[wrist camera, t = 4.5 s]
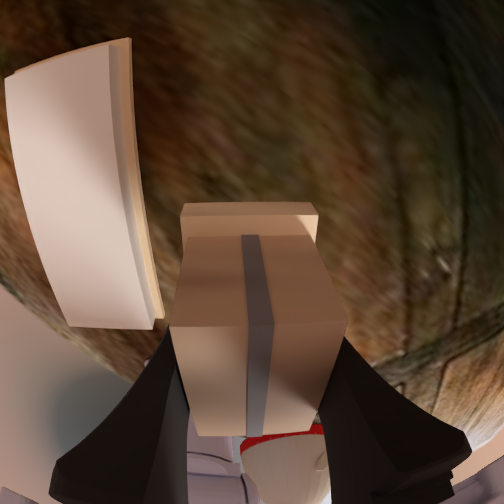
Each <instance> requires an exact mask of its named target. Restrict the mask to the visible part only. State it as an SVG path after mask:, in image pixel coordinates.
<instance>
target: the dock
mask: <svg viewBox="0 0 504 504" xmlns="http://www.w3.org/2000/svg"><path fill="white" fill-rule="evenodd" d="M5 94H6V107H7V117H8V125H9V133H10V140H11V146H12V152H13V158H14V163H15V168H16V173H17V178H18V183H19V187H20V191H21V195H22V199H23V203H24V207H25V211H26V214H27V218H28V221H29V225H30V228H31V231H32V235H33V238H34V241H35V244H36V247H37V250H38V253H39V256H40V258H41V261H42V264H43V267H44V269H45V272H46V275H47V277H48V280H49V282H50V285H51V287H52V290H53V292H54V294H55V297H56V299H57V301H58V304H59V306H60V308H61V311H62V313H63V315H64V317H65V319H66V321H67V323H68V326H74V327H90V328H111V329H144V330H152V329H153V325H154V320H155V318H164V315H165V311H164V307H163V302H162V298H161V293H160V289H159V284H158V279H157V274H156V269H155V264H154V259H153V253H152V248H151V242H150V237H149V231H148V225H147V218H146V212H145V205H144V198H143V191H142V183H141V176H140V167H139V158H138V149H137V138H136V127H135V114H134V98H133V77H132V38H129V37H127V38H122V39H117V40H113V41H108V42H104V43H100V44H96V45H92V46H88V47H84V48H81V49H77V50H74V51H70V52H67V53H64V54H60V55H57V56H54V57H51V58H48V59H46V60H43V61H40V62H37V63H35V64H32V65H29V66H27V67H24V68H22V69H19V70H17V71H15V74H14V75H11V76H9V77H7V78H5Z"/></svg>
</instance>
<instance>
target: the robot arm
mask: <svg viewBox="0 0 504 504" xmlns="http://www.w3.org/2000/svg"><path fill="white" fill-rule="evenodd" d="M169 324H170V323H169ZM144 365H145V368H144V370H143V371H142V373H141V374H140V376H139V377H138V378H137V380H136V381H135V383H134V384H133V386H132V387H131V389H130V390H129V391H128V392H127V394H126V395H125V397H124V398H123V399H122V400H121V401H120V403H119V404H118V405H117V406H116V407H115V408H114V410H113V411H112V412H111V413H110V414H109V415H108V416H107V417H106V419H104V421H103V422H102V423H101V424H100V425H99V426H97V427H96V428H95V429H94V430H93V431H92V432H91V433H90V434H89V435H88V436H87V437H86V438H85V439H84V440H82V441H81V442H80V443H79V444H78V445H77V446H75V447H74V448H72V449H71V450H70V451H69V452H67V453H66V454H65V455H63V456H62V457H61V458H59V459H58V460H57V461H56V465H55V467H54V470H53V473H52V478H51V483H50V488H49V495H50V496H51V497H52V498H54V499H55V500H57V501H59V502H61V503H63V504H260V499H259V493H258V489H257V487H256V484H255V483H254V481H253V480H252V479H251V478H250V477H249V475H247V474H246V473H240V464H239V463H234V460H233V440H232V436H198V433H197V430H196V426H195V423H194V420H193V417H192V413H191V410H190V407H189V403H188V400H187V396H186V392H185V389H184V385H183V382H182V378H181V374H180V370H179V366H178V362H177V358H176V354H175V350H174V346H173V342H172V337H171V333H170V329H169V325H168V327H167V329H166V331H165V333H164V335H163V337H162V339H161V341H160V343H159V344H158V346H157V348H156V350H155V352H154V353H153V355H152V357H151V358H150V360H146V361H145V364H144ZM318 413H319V417H320V420H321V424H322V428H323V432H324V439H325V445H326V451H327V459H328V467H329V476H330V486H331V500H332V504H504V455H503V456H502V457H500V458H499V459H497V460H495V461H494V462H492V463H491V464H489V465H487V466H486V467H484V468H483V469H481V470H480V471H479V472H477V474H475V475H473V476H471V477H469V478H468V479H466V480H464V481H462V482H460V483H458V484H456V485H454V486H452V485H451V482H450V479H452V478H453V474H452V471H451V470H452V469H453V468H455V467H456V466H458V465H459V464H460V463H462V462H463V461H464V460H466V459H467V458H468V457H469V456H470V455H471V453H472V449H471V447H470V444H469V442H468V440H467V438H466V436H465V434H464V432H463V431H461V430H459V429H457V428H455V427H453V426H451V425H449V424H447V423H445V422H443V421H441V420H439V419H437V418H436V417H434V416H432V415H431V414H429V413H427V412H426V411H424V410H422V409H421V408H420V407H418V406H417V405H415V404H414V403H412V402H411V401H410V400H408V399H407V398H405V397H404V396H403V395H402V394H400V393H399V392H398V391H397V390H395V389H394V388H393V387H392V386H391V385H390V384H388V383H387V382H386V381H385V380H384V379H383V378H382V377H381V376H380V375H379V374H378V373H377V372H376V371H375V370H374V369H373V368H372V367H371V366H370V365H369V364H368V363H367V362H366V361H365V360H364V359H363V358H362V356H361V355H360V354H359V353H358V352H357V351H356V350H355V348H354V347H353V346H352V345H351V344H350V343H349V341H348V340H347V339H346V338H345V337H343V340H342V343H341V346H340V349H339V352H338V355H337V358H336V361H335V364H334V367H333V370H332V373H331V376H330V378H329V381H328V384H327V387H326V389H325V392H324V395H323V397H322V400H321V402H320V405H319V408H318ZM0 504H38V503H37V502H35V501H33V500H31V499H29V498H26V497H24V496H22V495H20V494H18V493H15V492H14V491H11V490H9V489H7V488H5V487H2V488H1V493H0Z"/></svg>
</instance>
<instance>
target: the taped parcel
mask: <svg viewBox="0 0 504 504" xmlns="http://www.w3.org/2000/svg"><path fill="white" fill-rule="evenodd" d="M180 220H181V231H182V241H183V250H184V256H183V260H182V265H181V269H180V274H179V279H178V283H177V288H176V293H175V298H174V303H173V308H172V313H171V319H170V324H169V329H170V333H171V337H172V342H173V346H174V350H175V354H176V358H177V362H178V366H179V370H180V374H181V378H182V382H183V385H184V389H185V392H186V396H187V400H188V403H189V407H190V410H191V413H192V417H193V420H194V423H195V426H196V430H197V433H198V436H247V437H261V436H262V435H268V434H281V433H291V432H300V431H309V430H310V427H311V425H312V422H313V420H314V418H315V415H316V413H317V410H318V408H319V405H320V402H321V400H322V397H323V395H324V392H325V389H326V387H327V384H328V381H329V378H330V376H331V373H332V370H333V367H334V364H335V361H336V358H337V355H338V352H339V349H340V346H341V343H342V340H343V337H344V334H345V331H346V328H347V324H348V321H349V319H348V317H347V314H346V312H345V310H344V307H343V305H342V303H341V300H340V298H339V296H338V294H337V291H336V289H335V287H334V285H333V282H332V280H331V278H330V276H329V274H328V271H327V269H326V267H325V265H324V263H323V260H322V258H321V256H320V254H319V252H318V250H317V248H316V245H315V238H316V231H317V223H318V214H317V212H316V210H315V209H314V207H313V205H312V204H311V202H215V203H185V204H184V207H183V210H182V213H181V216H180Z"/></svg>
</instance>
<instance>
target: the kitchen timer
mask: <svg viewBox="0 0 504 504" xmlns="http://www.w3.org/2000/svg"><path fill="white" fill-rule="evenodd" d="M240 454H241V460H242V465H243V469H244V471H245V473H246V474H247V475H249V477H250V478H251V479H252V480H253V481H254V483H255V484H256V487H257V489H258V493H259V498H260V499H261V500H262V501H263V502H264V503H265V504H320V503H321V502H322V501H323V500H324V499H325V497H326V496H327V494H328V493H329V491H330V489H331V486H330V476H329V467H328V459H327V451H326V445H325V439H324V432H323V428H322V425H319V424H312V425H311V427H310V430H309V431H300V432H291V433H281V434H268V435H262V436H261V437H249V438H247V439H245V440H244V441H243V442H242V444H241V445H240Z"/></svg>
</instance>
